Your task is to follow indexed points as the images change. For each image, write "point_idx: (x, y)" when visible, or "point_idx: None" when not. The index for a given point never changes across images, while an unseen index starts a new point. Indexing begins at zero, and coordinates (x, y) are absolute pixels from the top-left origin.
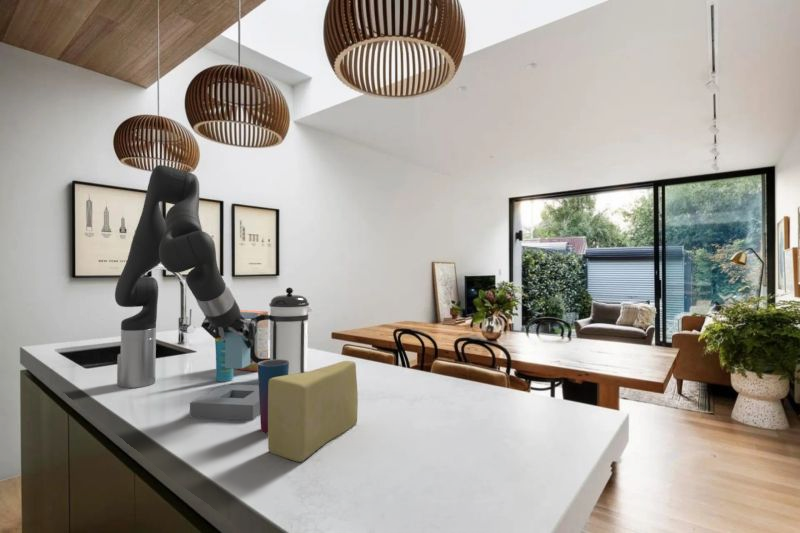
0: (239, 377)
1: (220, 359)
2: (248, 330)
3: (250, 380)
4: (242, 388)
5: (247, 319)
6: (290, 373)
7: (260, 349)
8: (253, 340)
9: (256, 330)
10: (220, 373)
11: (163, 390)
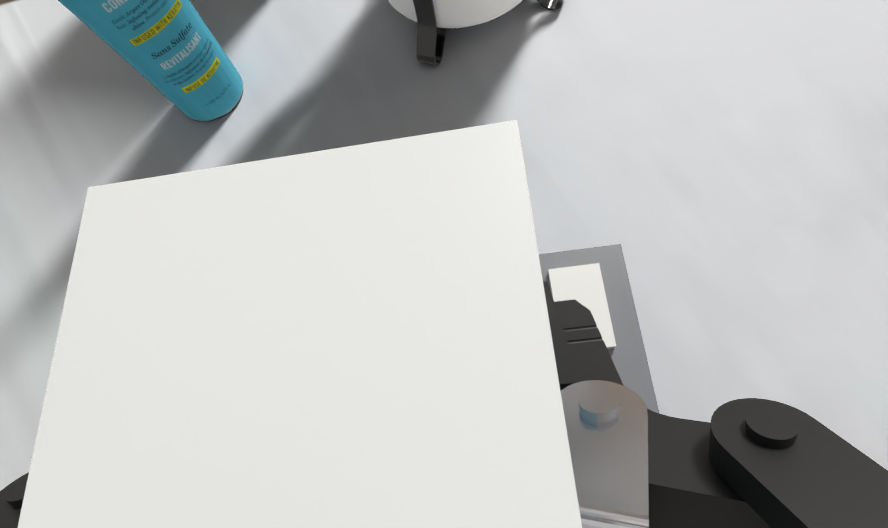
0: (256, 48)
1: (135, 47)
2: (646, 473)
3: (323, 68)
4: None
5: (461, 182)
6: (508, 5)
7: None
8: (594, 327)
9: (855, 466)
10: (185, 97)
11: (32, 283)
